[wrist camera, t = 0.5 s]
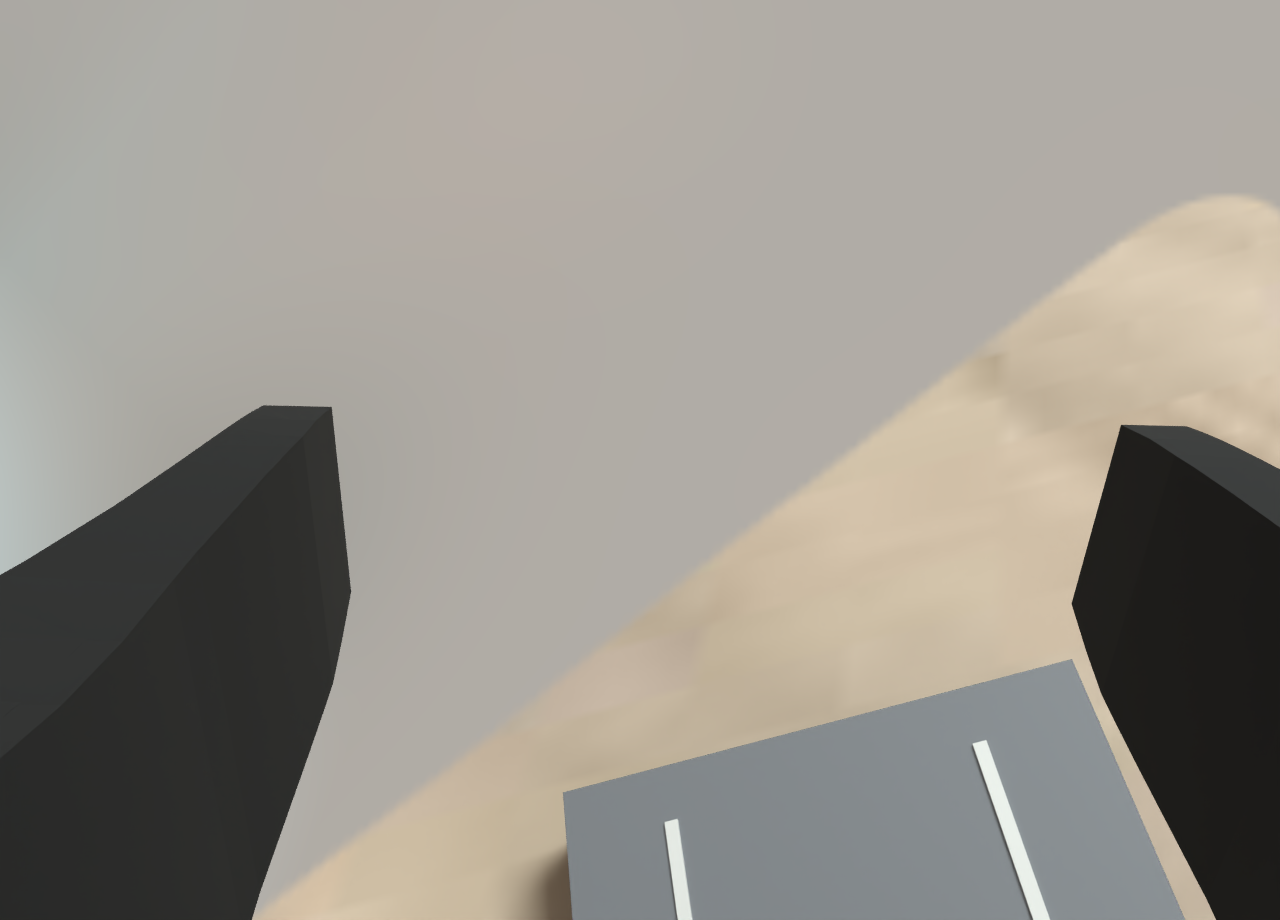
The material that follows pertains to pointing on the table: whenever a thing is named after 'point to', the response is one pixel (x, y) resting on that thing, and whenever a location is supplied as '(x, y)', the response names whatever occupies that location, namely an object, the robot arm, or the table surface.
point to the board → (882, 820)
